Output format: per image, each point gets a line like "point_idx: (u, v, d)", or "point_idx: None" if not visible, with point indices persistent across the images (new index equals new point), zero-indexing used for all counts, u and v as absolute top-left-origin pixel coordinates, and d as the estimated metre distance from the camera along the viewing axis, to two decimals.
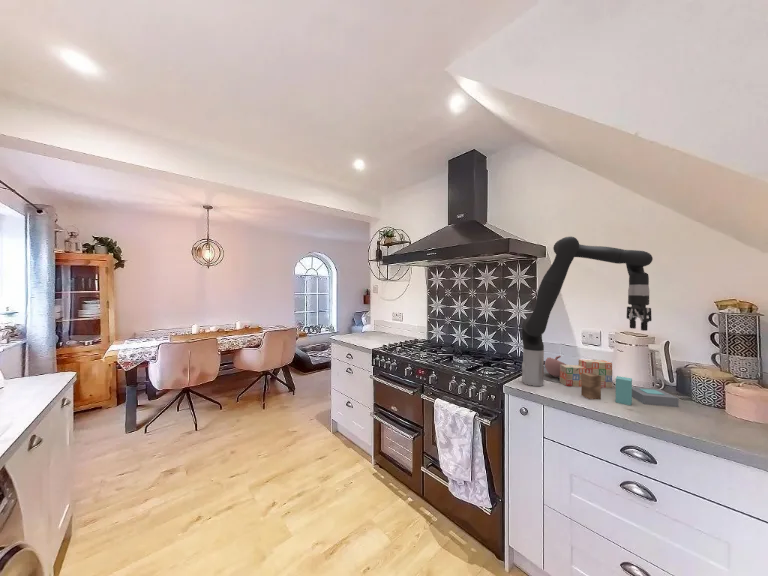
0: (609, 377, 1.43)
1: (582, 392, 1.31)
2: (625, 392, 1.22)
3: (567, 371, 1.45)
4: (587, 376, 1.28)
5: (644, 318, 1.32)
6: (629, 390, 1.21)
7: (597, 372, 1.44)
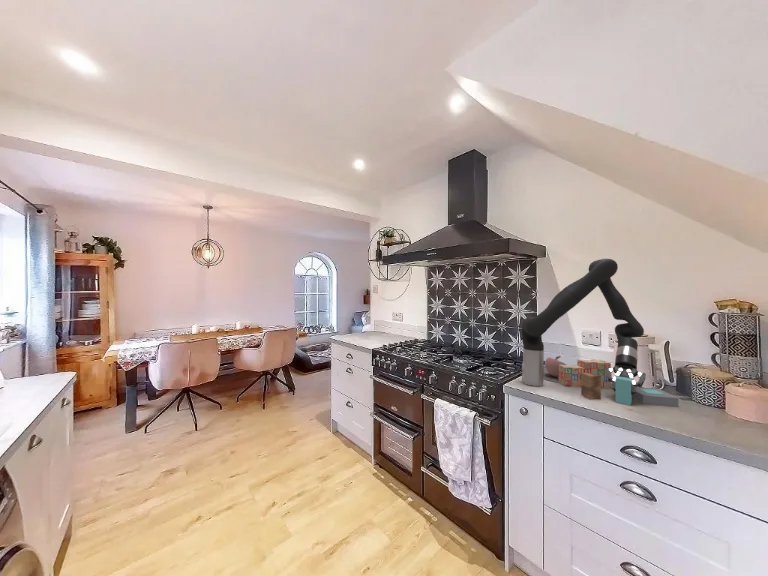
0: None
1: (582, 392, 1.31)
2: (625, 392, 1.22)
3: (566, 372, 1.45)
4: (587, 376, 1.28)
5: (640, 382, 1.21)
6: (629, 390, 1.21)
7: (596, 372, 1.43)
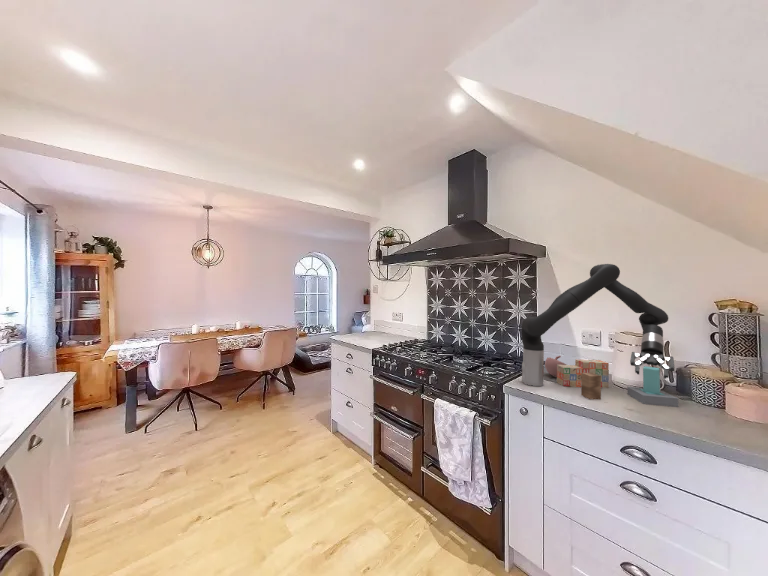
0: (606, 377, 1.43)
1: (582, 392, 1.31)
2: (653, 382, 1.25)
3: (564, 372, 1.44)
4: (587, 376, 1.28)
5: (672, 365, 1.24)
6: (657, 379, 1.24)
7: (594, 372, 1.43)
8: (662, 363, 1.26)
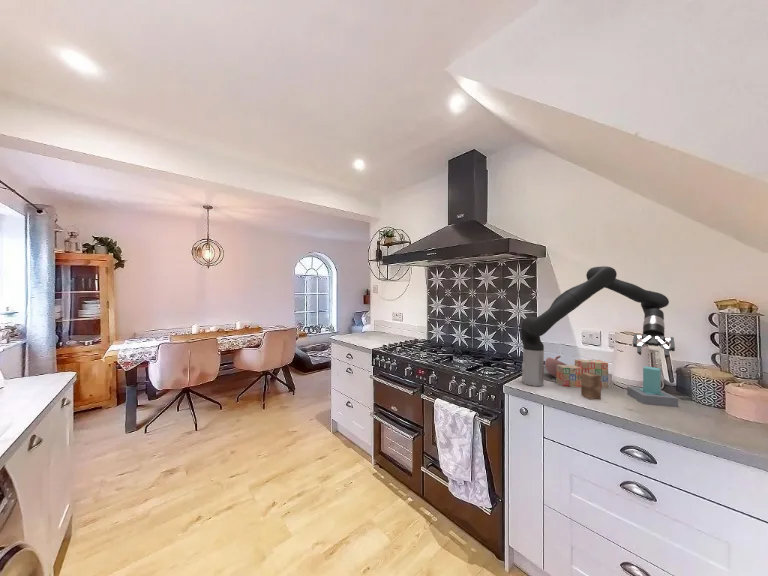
0: (605, 377, 1.43)
1: (582, 392, 1.31)
2: (652, 382, 1.25)
3: (564, 372, 1.44)
4: (587, 376, 1.28)
5: (673, 345, 1.30)
6: (657, 379, 1.24)
7: (593, 372, 1.43)
8: (663, 343, 1.32)
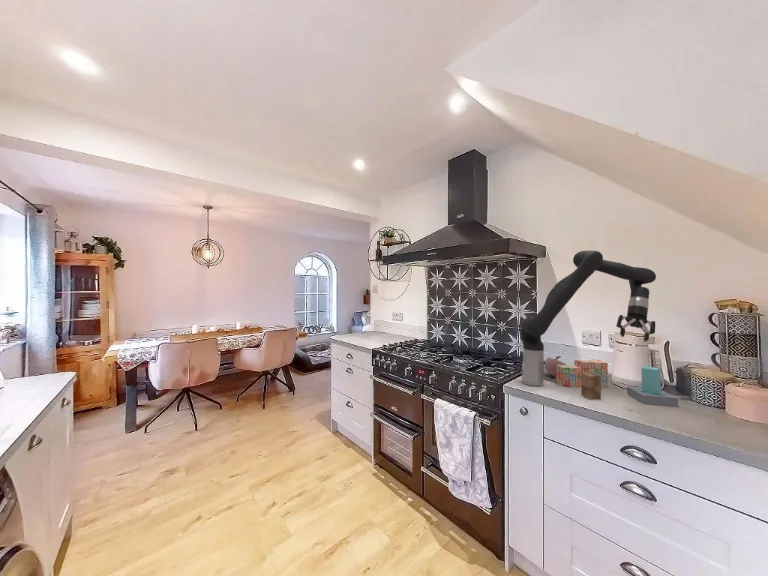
0: (605, 377, 1.43)
1: (582, 392, 1.31)
2: (651, 381, 1.25)
3: (564, 372, 1.44)
4: (587, 376, 1.28)
5: (653, 330, 1.39)
6: (655, 379, 1.24)
7: (593, 372, 1.43)
8: (645, 328, 1.40)
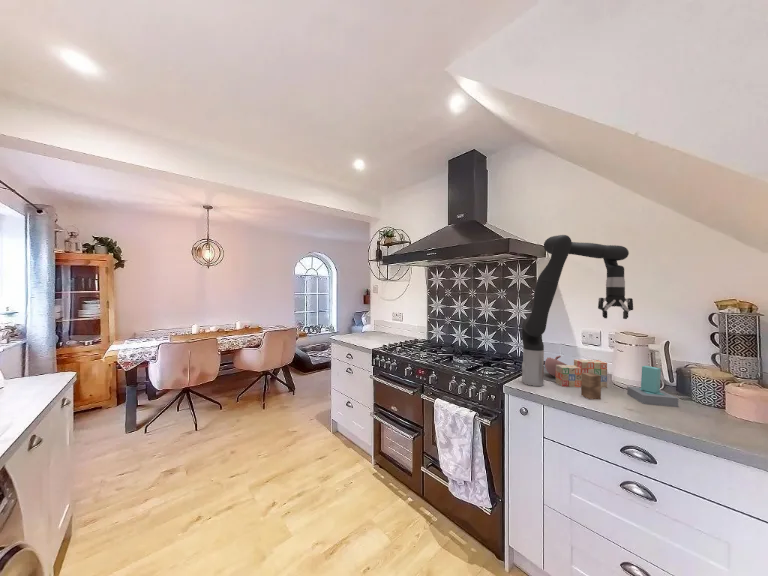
0: (604, 377, 1.43)
1: (582, 392, 1.31)
2: (650, 380, 1.26)
3: (563, 372, 1.44)
4: (587, 376, 1.28)
5: (631, 308, 1.46)
6: (655, 378, 1.24)
7: (592, 372, 1.44)
8: (624, 307, 1.46)
